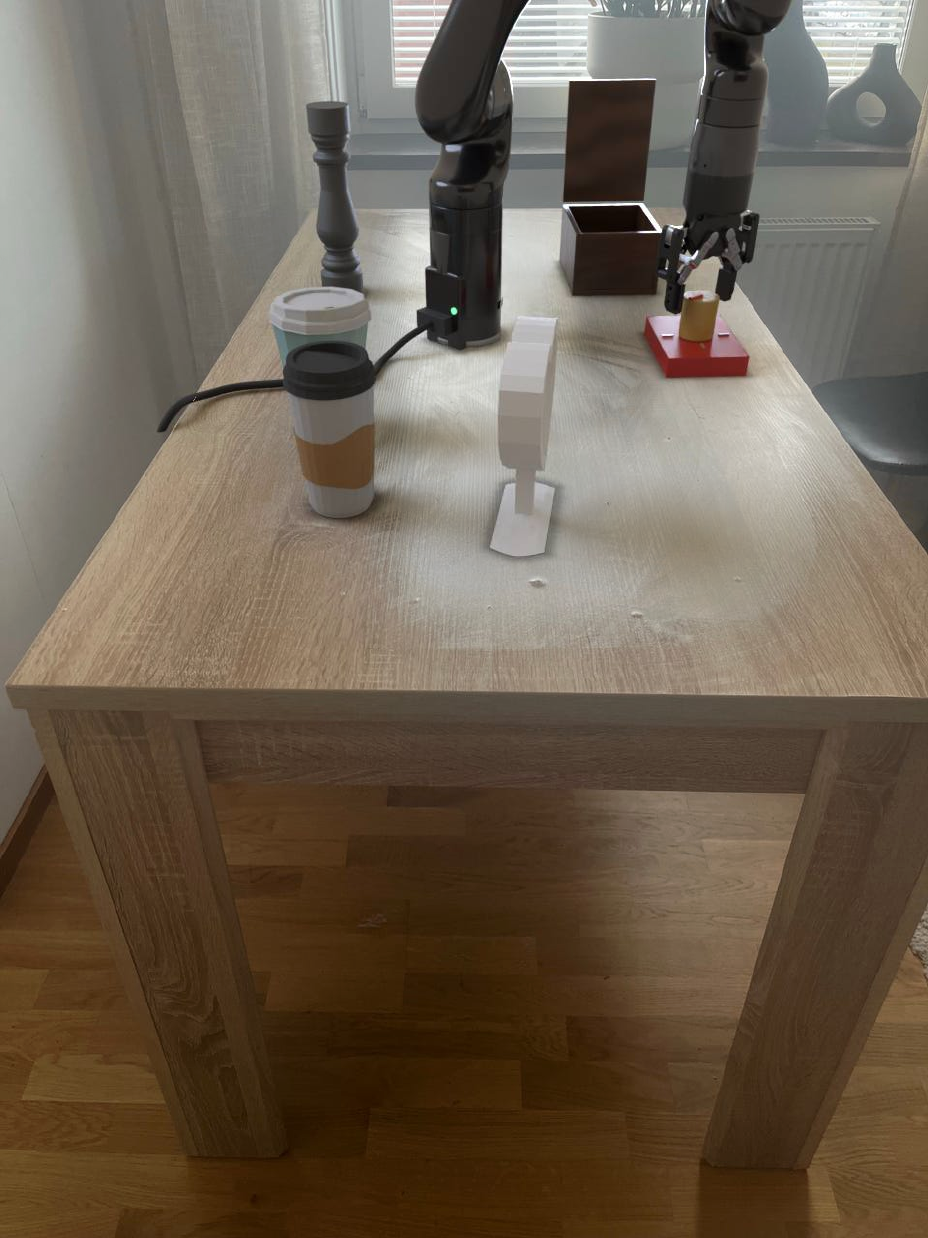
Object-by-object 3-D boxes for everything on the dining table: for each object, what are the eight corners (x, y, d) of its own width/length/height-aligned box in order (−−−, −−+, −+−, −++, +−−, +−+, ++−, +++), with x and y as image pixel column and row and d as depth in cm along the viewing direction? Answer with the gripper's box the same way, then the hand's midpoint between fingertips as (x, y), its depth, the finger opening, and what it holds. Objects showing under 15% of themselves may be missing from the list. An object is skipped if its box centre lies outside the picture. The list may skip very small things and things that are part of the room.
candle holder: (361, 300, 135) (347, 108, 120) (319, 300, 135) (300, 108, 120) (366, 286, 140) (353, 100, 125) (325, 286, 140) (307, 100, 125)
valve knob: (694, 326, 120) (700, 284, 117) (720, 336, 117) (727, 294, 114) (670, 333, 118) (676, 292, 115) (697, 344, 115) (703, 302, 112)
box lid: (656, 79, 133) (649, 74, 137) (569, 80, 133) (565, 75, 137) (643, 200, 143) (637, 192, 147) (563, 202, 143) (558, 194, 147)
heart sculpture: (542, 565, 82) (553, 373, 71) (486, 559, 83) (489, 369, 72) (556, 478, 94) (568, 303, 83) (508, 474, 95) (513, 300, 84)
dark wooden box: (656, 294, 137) (664, 232, 131) (572, 295, 137) (576, 233, 131) (636, 261, 149) (642, 203, 144) (559, 262, 149) (562, 204, 143)
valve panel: (746, 375, 114) (750, 355, 112) (665, 377, 114) (668, 356, 112) (717, 333, 125) (720, 313, 123) (643, 334, 125) (646, 315, 123)
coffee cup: (342, 472, 95) (328, 331, 86) (401, 499, 91) (393, 353, 82) (281, 505, 90) (259, 359, 81) (341, 535, 86) (325, 384, 77)
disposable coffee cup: (274, 415, 106) (255, 283, 97) (364, 400, 109) (355, 271, 100) (295, 457, 98) (277, 318, 89) (391, 439, 101) (384, 303, 92)
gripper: (699, 180, 100) (677, 326, 110) (789, 164, 106) (760, 303, 116) (652, 166, 105) (635, 307, 115) (741, 151, 111) (717, 286, 121)
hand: (698, 305), depth 116 cm, fingers open, 8 cm apart
